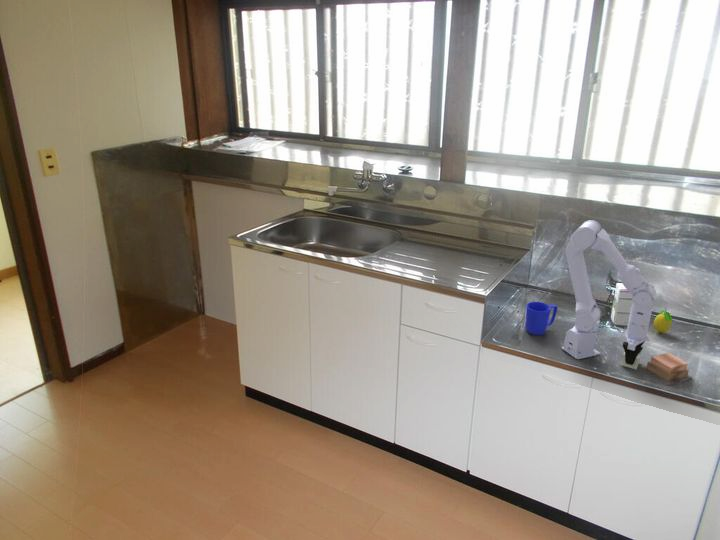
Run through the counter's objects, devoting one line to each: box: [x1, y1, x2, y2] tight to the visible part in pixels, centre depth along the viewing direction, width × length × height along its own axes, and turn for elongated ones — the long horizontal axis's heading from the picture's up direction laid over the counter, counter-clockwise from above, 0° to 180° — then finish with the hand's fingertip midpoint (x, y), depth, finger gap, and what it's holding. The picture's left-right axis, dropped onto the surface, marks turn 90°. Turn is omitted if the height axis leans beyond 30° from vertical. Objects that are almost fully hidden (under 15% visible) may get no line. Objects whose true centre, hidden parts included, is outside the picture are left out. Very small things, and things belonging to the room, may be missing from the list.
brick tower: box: [640, 352, 693, 386], centre depth 171 cm, size 10×10×5 cm
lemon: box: [653, 307, 673, 334], centre depth 195 cm, size 7×6×10 cm
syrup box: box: [610, 282, 633, 327], centre depth 202 cm, size 6×6×14 cm
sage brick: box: [620, 351, 642, 370], centre depth 177 cm, size 4×4×4 cm
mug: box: [525, 301, 558, 336], centre depth 197 cm, size 8×12×10 cm
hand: (630, 360), depth 177 cm, fingers closed on sage brick, 4 cm apart
